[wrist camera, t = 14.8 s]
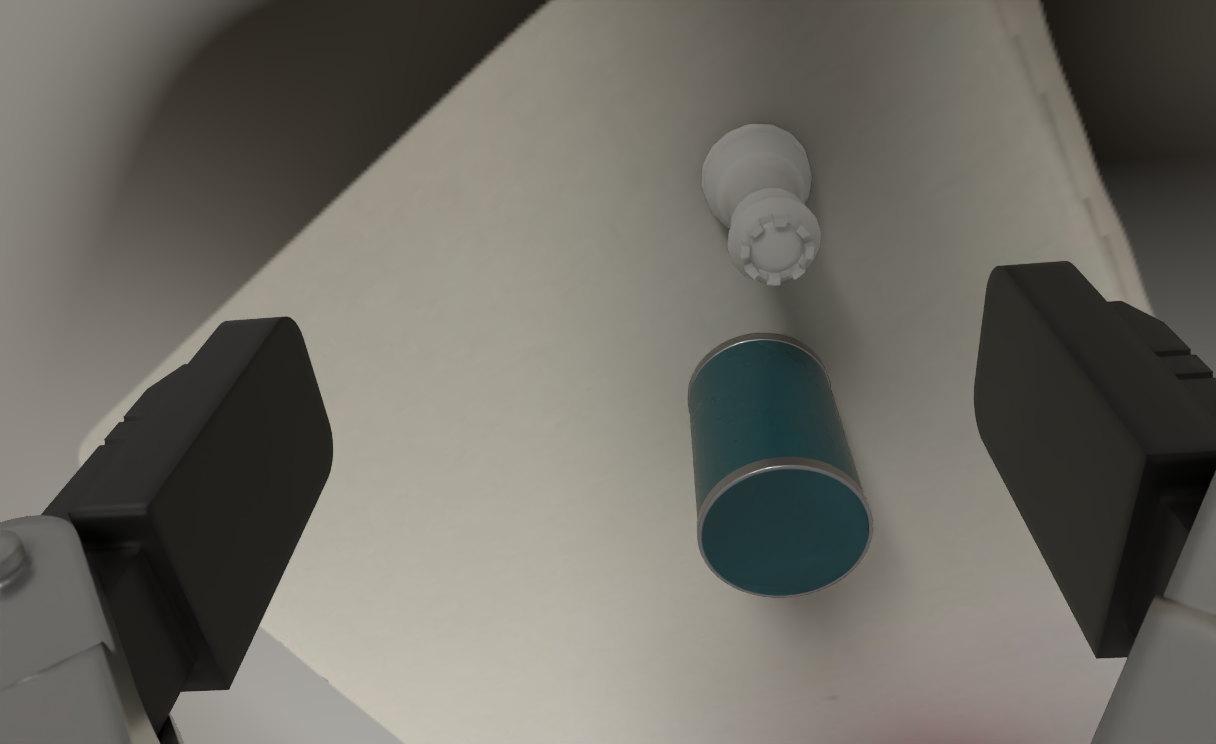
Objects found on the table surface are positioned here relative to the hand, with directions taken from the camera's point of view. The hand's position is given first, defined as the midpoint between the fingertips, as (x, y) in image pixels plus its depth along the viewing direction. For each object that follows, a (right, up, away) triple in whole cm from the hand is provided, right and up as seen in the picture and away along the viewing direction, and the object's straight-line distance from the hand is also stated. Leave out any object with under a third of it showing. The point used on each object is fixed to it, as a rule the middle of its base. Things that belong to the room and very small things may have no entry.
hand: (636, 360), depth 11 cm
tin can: (+7, -1, +33) cm, 34 cm away
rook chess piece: (+6, +8, +28) cm, 30 cm away
